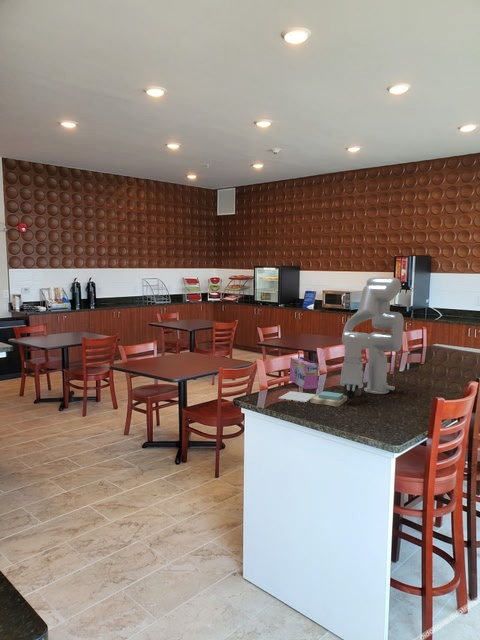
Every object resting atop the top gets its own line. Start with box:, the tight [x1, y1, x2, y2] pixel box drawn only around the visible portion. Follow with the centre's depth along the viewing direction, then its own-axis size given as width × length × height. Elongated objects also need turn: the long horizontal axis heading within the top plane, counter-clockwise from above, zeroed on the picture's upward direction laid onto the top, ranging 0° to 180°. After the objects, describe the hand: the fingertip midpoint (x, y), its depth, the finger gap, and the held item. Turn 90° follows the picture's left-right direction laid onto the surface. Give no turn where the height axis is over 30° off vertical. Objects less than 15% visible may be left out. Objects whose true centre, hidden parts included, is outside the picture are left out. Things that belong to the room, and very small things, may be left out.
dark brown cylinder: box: [341, 385, 362, 397], centre depth 249 cm, size 10×10×15 cm
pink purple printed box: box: [289, 356, 320, 390], centre depth 271 cm, size 24×8×14 cm, turn 16°
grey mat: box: [278, 390, 316, 403], centre depth 242 cm, size 14×16×1 cm
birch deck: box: [309, 392, 348, 407], centre depth 234 cm, size 14×14×2 cm
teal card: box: [318, 390, 345, 401], centre depth 234 cm, size 10×8×2 cm
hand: (351, 398), depth 229 cm, fingers closed
